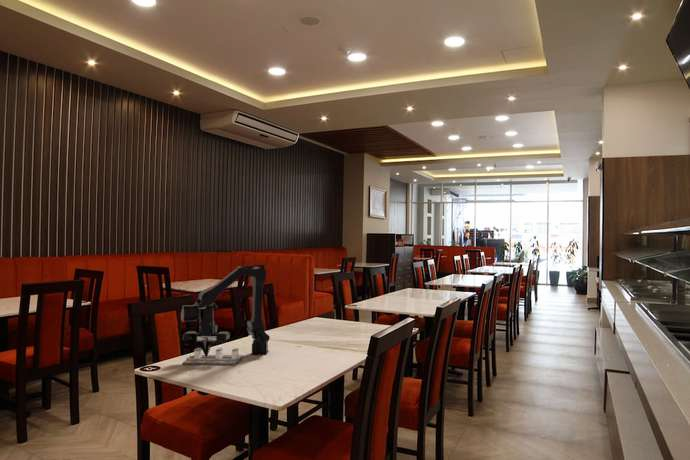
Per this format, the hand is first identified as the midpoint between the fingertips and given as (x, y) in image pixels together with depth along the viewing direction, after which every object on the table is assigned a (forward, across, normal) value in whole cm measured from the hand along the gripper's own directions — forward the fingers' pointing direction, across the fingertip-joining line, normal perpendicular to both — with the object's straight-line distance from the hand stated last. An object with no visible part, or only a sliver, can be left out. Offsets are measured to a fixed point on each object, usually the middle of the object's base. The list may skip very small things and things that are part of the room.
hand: (206, 355), depth 198 cm
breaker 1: (+2, +4, 0) cm, 4 cm away
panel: (+2, -3, 0) cm, 4 cm away
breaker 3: (+2, -12, 0) cm, 13 cm away
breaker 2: (+2, -6, 0) cm, 6 cm away
